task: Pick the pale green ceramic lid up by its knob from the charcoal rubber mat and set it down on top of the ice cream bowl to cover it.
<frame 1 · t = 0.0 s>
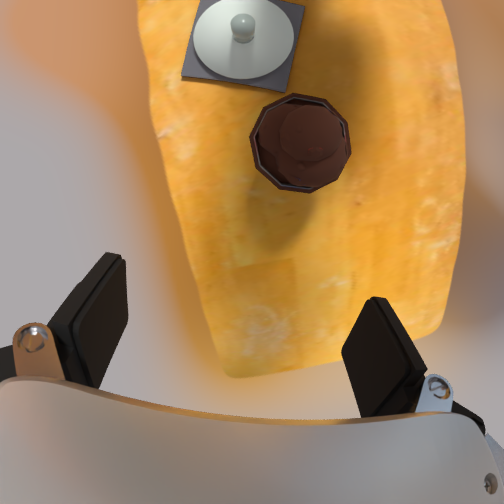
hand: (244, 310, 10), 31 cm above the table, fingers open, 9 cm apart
lid: (243, 36, 29), point 1 cm above the table, touching mat
ice cream bowl: (289, 137, 37), on the table
mat: (243, 37, 30), on the table
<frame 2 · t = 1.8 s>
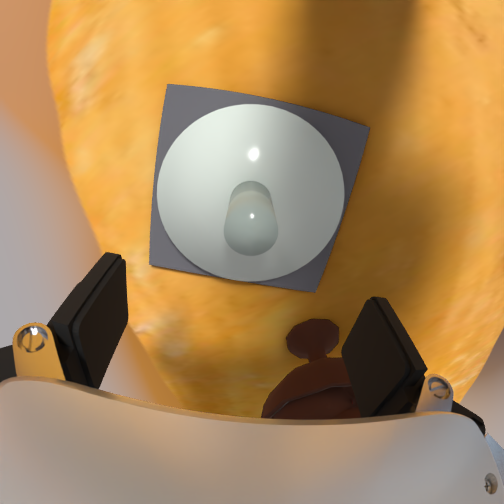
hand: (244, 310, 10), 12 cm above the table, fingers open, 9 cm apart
lid: (250, 197, 20), point 1 cm above the table, touching mat
ice cream bowl: (312, 337, 28), on the table
mat: (250, 194, 20), on the table
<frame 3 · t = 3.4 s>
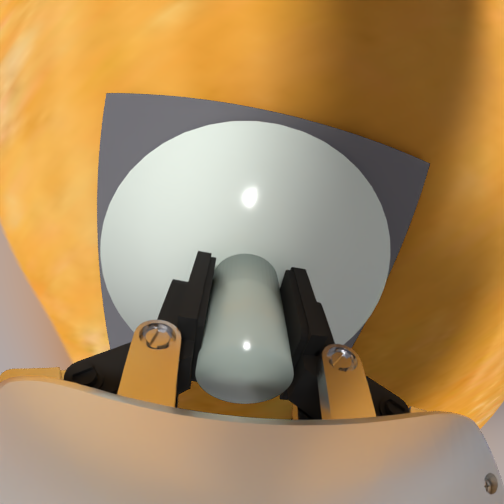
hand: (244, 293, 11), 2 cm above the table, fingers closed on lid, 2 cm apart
lid: (244, 273, 13), point 1 cm above the table, touching gripper, mat
mat: (244, 267, 13), on the table
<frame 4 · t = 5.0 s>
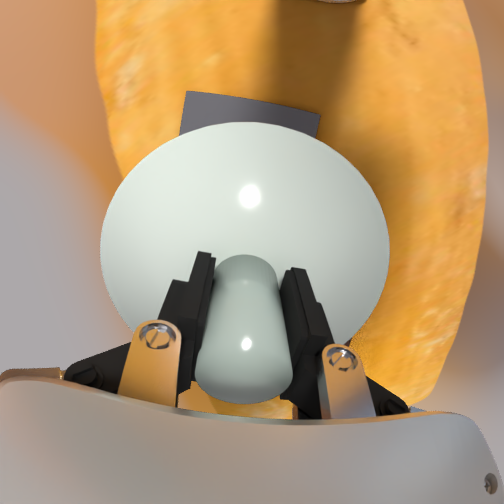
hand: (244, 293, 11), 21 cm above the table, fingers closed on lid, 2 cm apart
lid: (244, 274, 13), point 20 cm above the table, touching gripper
mat: (241, 163, 30), on the table
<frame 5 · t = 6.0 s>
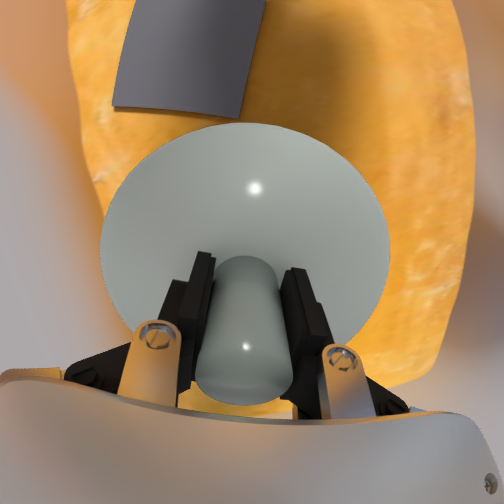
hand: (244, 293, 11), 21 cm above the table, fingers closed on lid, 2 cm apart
lid: (244, 275, 13), point 19 cm above the table, touching gripper
mat: (185, 48, 23), on the table
when the fingers open (18 cm above the table, at t = 6.6 s): lid drops 1 cm and tips over, point 15 cm above the table.
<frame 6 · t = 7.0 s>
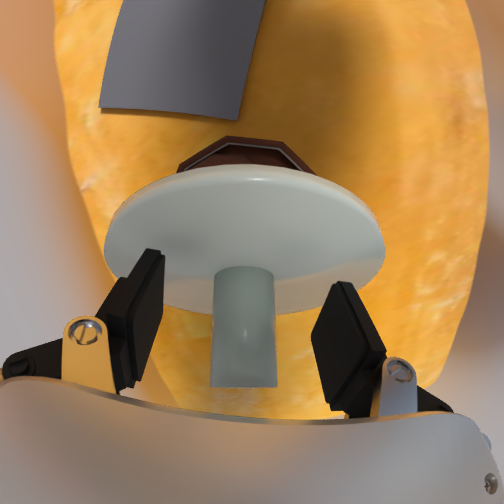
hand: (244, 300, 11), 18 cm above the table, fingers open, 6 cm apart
lid: (244, 263, 14), point 15 cm above the table, tilted 34°
ice cream bowl: (245, 184, 27), on the table
mat: (178, 43, 21), on the table
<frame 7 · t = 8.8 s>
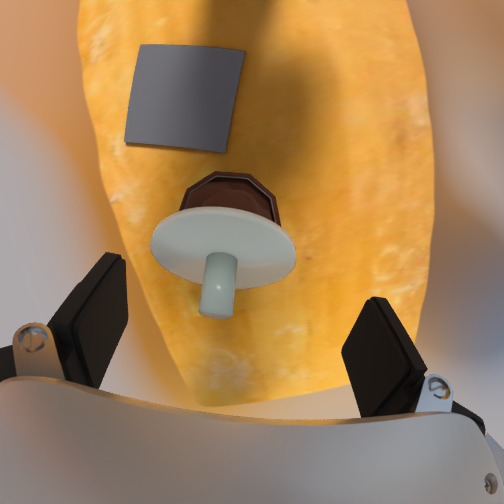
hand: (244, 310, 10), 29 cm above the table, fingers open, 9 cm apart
lid: (222, 252, 26), point 14 cm above the table, tilted 34°, touching ice cream bowl
ice cream bowl: (232, 198, 39), on the table, touching lid
mat: (181, 94, 32), on the table
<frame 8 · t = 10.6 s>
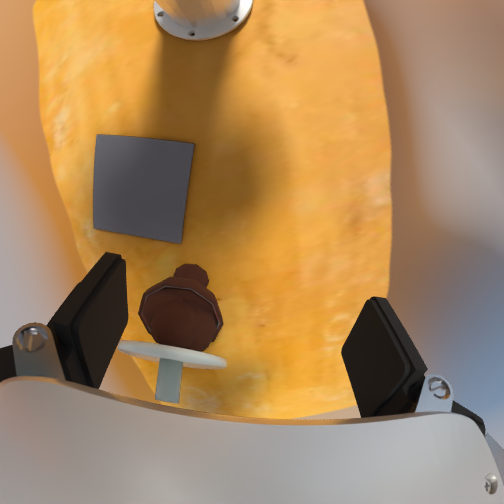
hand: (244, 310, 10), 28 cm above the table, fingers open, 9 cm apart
lid: (172, 354, 31), point 14 cm above the table, tilted 34°, touching ice cream bowl
ice cream bowl: (191, 278, 43), on the table, touching lid
mat: (138, 187, 36), on the table
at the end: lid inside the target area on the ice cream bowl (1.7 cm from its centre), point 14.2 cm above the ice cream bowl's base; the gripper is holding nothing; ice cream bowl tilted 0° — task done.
